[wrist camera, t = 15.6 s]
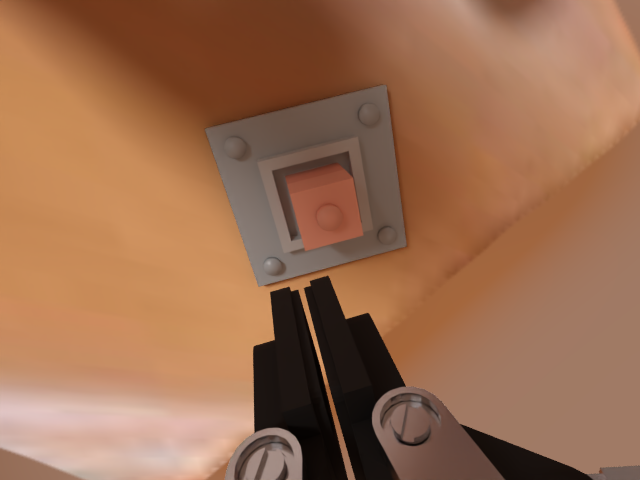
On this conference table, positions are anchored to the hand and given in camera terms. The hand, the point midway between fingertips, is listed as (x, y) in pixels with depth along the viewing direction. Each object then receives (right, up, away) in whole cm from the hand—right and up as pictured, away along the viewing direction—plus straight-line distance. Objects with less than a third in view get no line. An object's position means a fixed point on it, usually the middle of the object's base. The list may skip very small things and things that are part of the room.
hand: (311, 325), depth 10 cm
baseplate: (0, +7, +25) cm, 26 cm away
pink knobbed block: (0, +7, +24) cm, 25 cm away
